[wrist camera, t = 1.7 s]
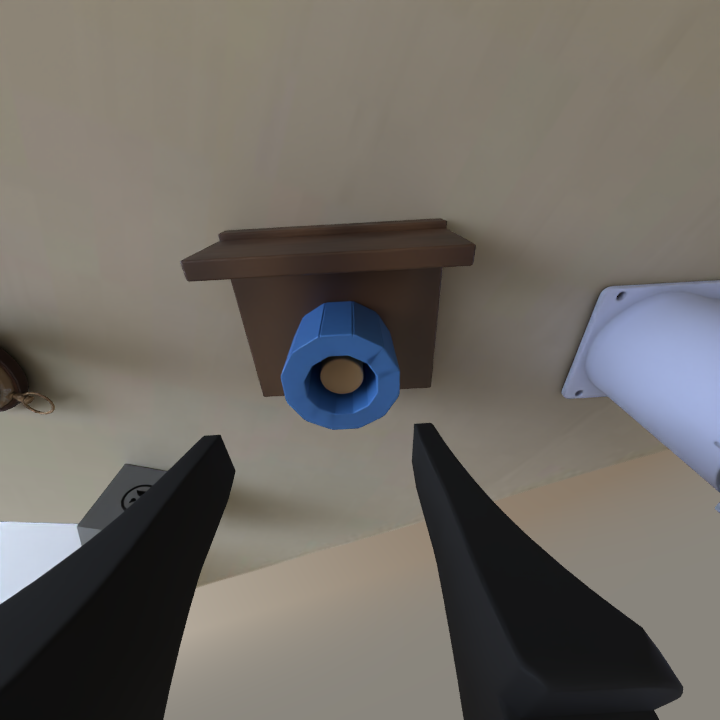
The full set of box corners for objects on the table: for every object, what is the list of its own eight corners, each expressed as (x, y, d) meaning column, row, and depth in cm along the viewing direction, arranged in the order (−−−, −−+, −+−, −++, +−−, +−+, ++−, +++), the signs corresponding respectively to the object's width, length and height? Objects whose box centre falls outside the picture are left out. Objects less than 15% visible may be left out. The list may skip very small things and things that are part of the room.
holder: (442, 217, 15) (478, 235, 11) (427, 379, 20) (448, 433, 16) (224, 230, 15) (175, 252, 11) (266, 388, 20) (245, 444, 16)
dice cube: (125, 463, 24) (76, 526, 20) (190, 475, 25) (158, 537, 21) (128, 499, 26) (85, 562, 22) (187, 509, 27) (158, 570, 23)
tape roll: (390, 298, 16) (401, 331, 13) (390, 381, 19) (398, 426, 16) (287, 304, 16) (270, 338, 13) (303, 386, 19) (292, 432, 16)
